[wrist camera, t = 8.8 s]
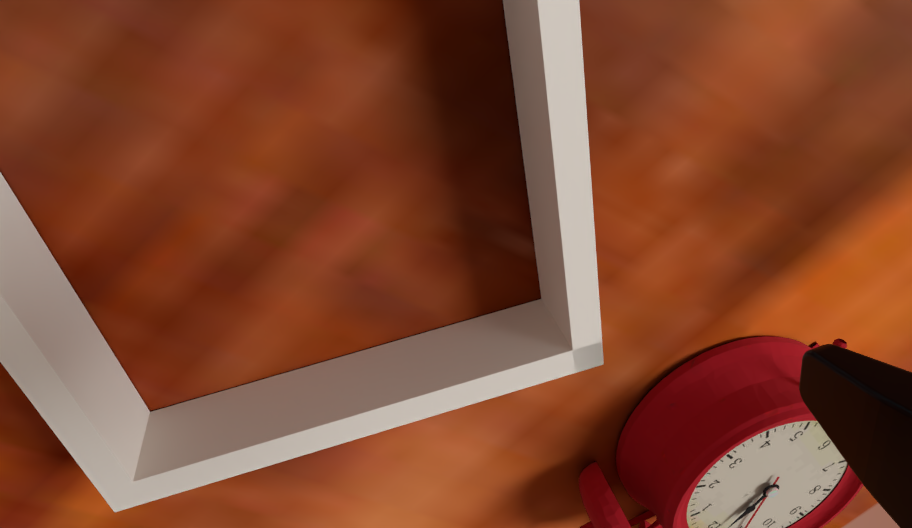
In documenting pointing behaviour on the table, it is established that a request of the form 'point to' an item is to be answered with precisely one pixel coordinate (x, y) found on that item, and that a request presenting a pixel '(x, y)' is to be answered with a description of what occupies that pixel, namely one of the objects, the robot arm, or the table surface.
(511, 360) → the white u-shaped frame
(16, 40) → the table surface
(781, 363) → the alarm clock
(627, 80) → the table surface
